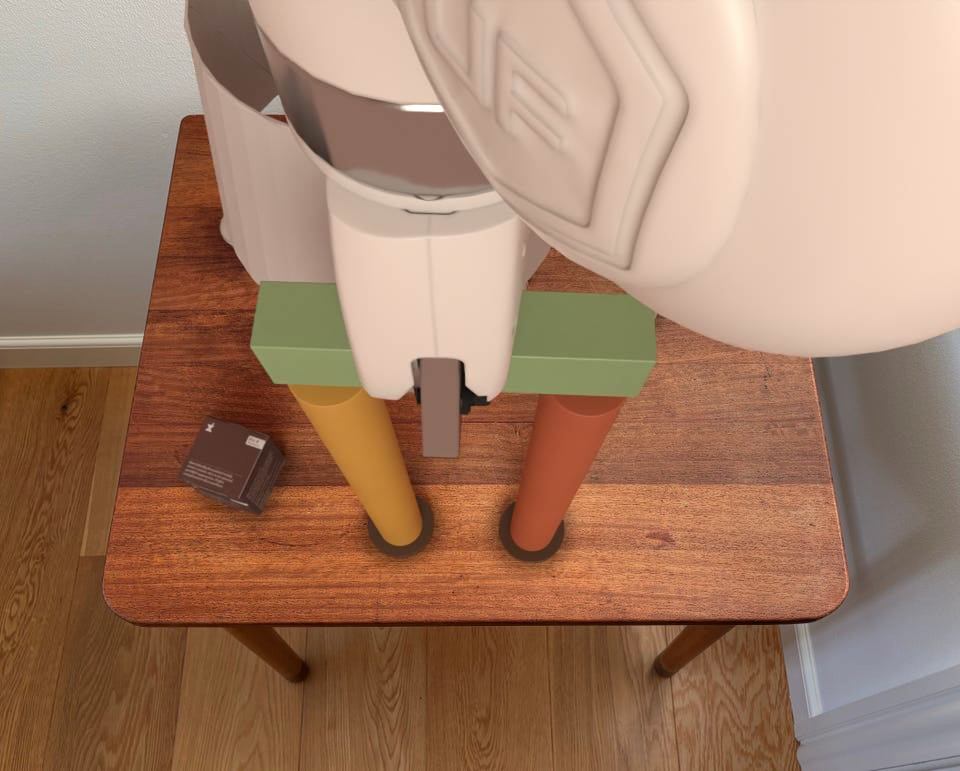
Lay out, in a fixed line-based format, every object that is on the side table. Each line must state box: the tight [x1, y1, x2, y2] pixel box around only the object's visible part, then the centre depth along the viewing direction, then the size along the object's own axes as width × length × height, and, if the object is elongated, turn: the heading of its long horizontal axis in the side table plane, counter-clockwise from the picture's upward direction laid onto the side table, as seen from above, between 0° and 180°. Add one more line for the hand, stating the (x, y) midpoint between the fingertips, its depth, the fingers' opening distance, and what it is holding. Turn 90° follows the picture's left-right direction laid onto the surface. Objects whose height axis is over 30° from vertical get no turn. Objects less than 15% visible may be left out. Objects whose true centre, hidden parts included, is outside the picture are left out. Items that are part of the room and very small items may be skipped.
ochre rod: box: [286, 384, 435, 559], centre depth 53 cm, size 6×6×38 cm
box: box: [176, 415, 287, 517], centre depth 69 cm, size 6×6×7 cm
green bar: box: [249, 281, 658, 398], centre depth 32 cm, size 3×16×4 cm, turn 88°
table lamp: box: [183, 0, 552, 394], centre depth 60 cm, size 25×25×40 cm
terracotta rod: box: [498, 394, 628, 565], centre depth 53 cm, size 6×6×38 cm
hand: (455, 358), depth 34 cm, fingers closed on green bar, 3 cm apart
